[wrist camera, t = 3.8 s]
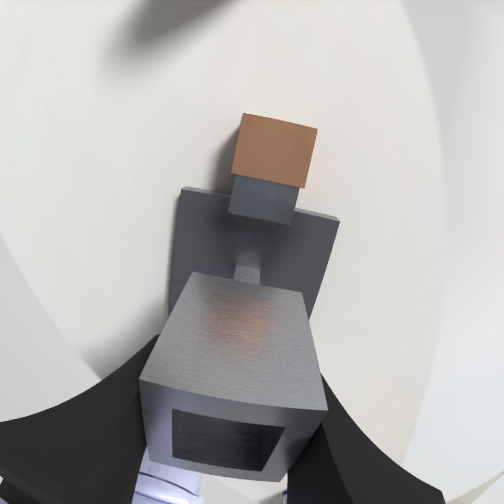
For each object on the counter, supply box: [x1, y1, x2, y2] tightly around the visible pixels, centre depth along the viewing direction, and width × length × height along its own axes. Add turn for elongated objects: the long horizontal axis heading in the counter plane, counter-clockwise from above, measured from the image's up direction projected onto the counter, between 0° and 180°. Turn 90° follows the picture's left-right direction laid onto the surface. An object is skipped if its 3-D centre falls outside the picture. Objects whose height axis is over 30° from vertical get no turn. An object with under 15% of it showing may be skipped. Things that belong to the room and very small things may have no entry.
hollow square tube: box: [139, 272, 328, 482], centre depth 9 cm, size 4×4×6 cm
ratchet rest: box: [168, 113, 340, 320], centre depth 16 cm, size 14×9×4 cm, turn 169°
